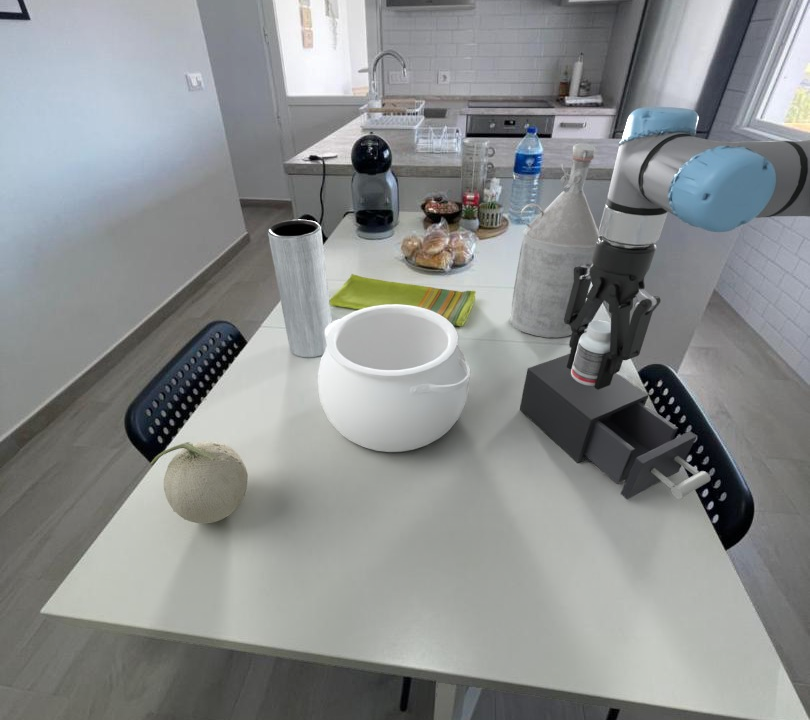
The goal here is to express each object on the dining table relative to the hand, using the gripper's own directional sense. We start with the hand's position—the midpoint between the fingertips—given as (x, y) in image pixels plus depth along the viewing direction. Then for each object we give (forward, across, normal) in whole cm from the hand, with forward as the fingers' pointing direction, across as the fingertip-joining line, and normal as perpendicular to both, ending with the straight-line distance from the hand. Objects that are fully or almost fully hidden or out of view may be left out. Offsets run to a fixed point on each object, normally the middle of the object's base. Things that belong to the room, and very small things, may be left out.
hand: (587, 375), depth 74 cm
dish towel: (+11, +54, +7) cm, 56 cm away
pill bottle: (+1, 0, 0) cm, 1 cm away
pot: (+11, +18, +27) cm, 34 cm away
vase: (+11, +46, +34) cm, 58 cm away
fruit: (+11, +11, +60) cm, 62 cm away
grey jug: (+11, +29, -18) cm, 36 cm away
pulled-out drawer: (+10, -12, 0) cm, 16 cm away
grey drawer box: (+11, 0, 0) cm, 11 cm away
